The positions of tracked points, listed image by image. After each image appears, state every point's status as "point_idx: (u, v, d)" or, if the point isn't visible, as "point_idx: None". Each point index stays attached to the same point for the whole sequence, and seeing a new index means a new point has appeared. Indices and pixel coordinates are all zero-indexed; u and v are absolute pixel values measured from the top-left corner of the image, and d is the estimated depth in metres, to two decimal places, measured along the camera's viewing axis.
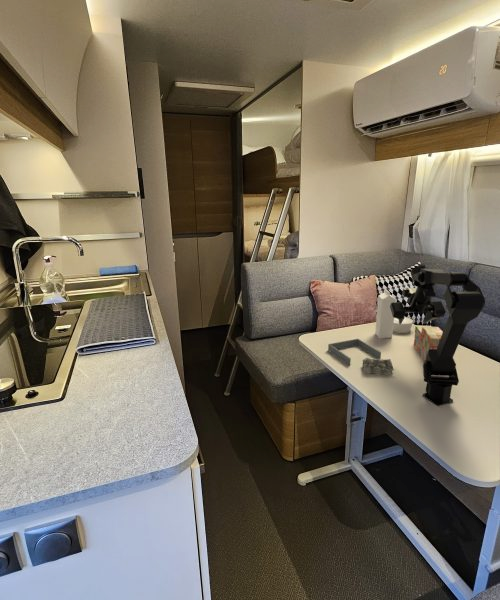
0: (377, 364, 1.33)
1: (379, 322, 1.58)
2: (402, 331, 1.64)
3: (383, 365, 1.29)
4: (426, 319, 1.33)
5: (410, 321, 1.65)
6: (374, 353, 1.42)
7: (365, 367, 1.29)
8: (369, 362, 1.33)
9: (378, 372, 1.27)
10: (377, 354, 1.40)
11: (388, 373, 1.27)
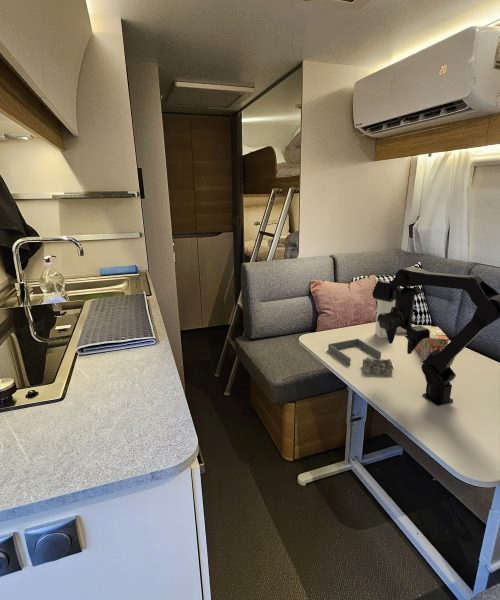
0: (377, 364, 1.33)
1: None
2: (402, 331, 1.64)
3: (383, 365, 1.29)
4: (393, 335, 1.22)
5: None
6: (374, 353, 1.42)
7: (365, 367, 1.29)
8: (369, 362, 1.33)
9: (378, 372, 1.27)
10: (377, 354, 1.40)
11: (388, 373, 1.27)
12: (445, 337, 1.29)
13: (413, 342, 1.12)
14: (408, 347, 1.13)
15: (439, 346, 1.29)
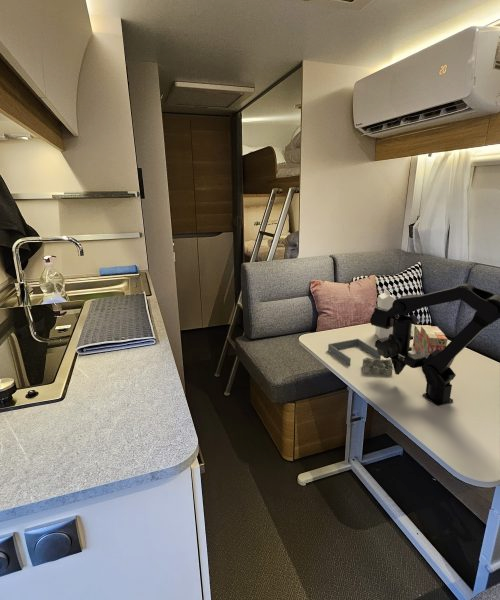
0: (378, 364, 1.33)
1: None
2: None
3: (383, 365, 1.29)
4: None
5: None
6: (374, 353, 1.42)
7: (364, 366, 1.29)
8: (369, 362, 1.33)
9: (377, 372, 1.27)
10: (377, 354, 1.40)
11: (387, 373, 1.27)
12: (444, 337, 1.29)
13: (401, 363, 1.18)
14: (397, 368, 1.19)
15: (438, 345, 1.29)
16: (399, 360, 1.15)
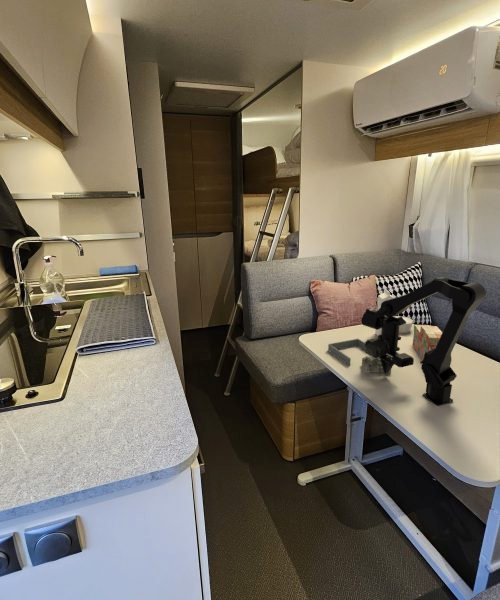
0: (377, 363, 1.34)
1: None
2: (402, 331, 1.64)
3: None
4: None
5: (410, 321, 1.65)
6: None
7: (364, 365, 1.30)
8: (368, 361, 1.34)
9: (376, 370, 1.28)
10: None
11: None
12: None
13: (389, 363, 1.23)
14: (385, 367, 1.24)
15: None
16: (387, 359, 1.21)
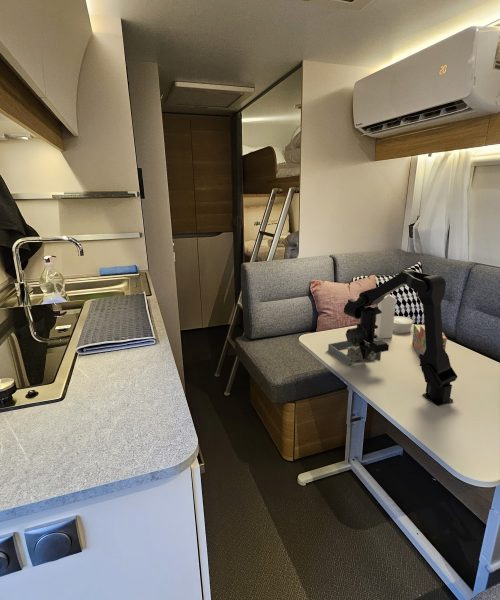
0: (360, 351, 1.44)
1: (379, 322, 1.58)
2: (402, 331, 1.64)
3: None
4: None
5: (410, 321, 1.65)
6: None
7: (351, 354, 1.39)
8: (353, 350, 1.44)
9: None
10: (377, 354, 1.40)
11: (372, 358, 1.38)
12: (443, 336, 1.30)
13: (367, 350, 1.34)
14: (364, 354, 1.35)
15: None
16: (365, 346, 1.31)
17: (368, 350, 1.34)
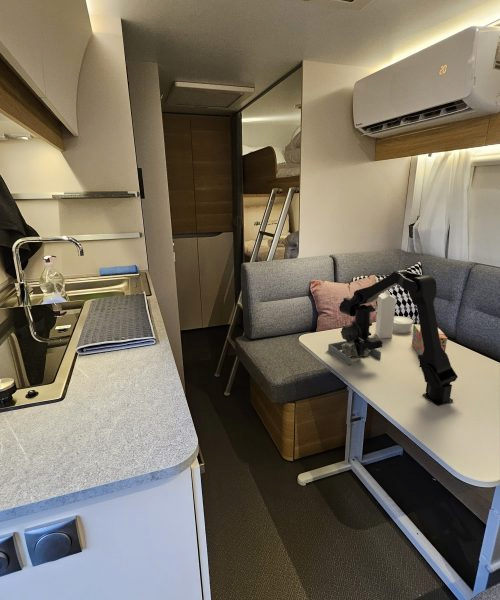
0: (354, 348, 1.48)
1: (379, 322, 1.58)
2: (402, 331, 1.64)
3: None
4: None
5: (410, 321, 1.65)
6: (374, 353, 1.42)
7: (346, 351, 1.42)
8: (347, 347, 1.47)
9: (357, 354, 1.42)
10: (377, 354, 1.40)
11: (366, 354, 1.42)
12: (443, 336, 1.30)
13: (362, 347, 1.37)
14: (359, 351, 1.38)
15: None
16: (360, 343, 1.35)
17: (363, 347, 1.37)
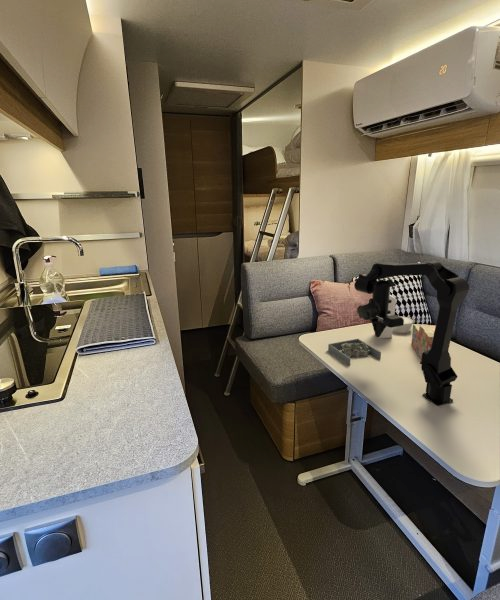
0: (354, 348, 1.48)
1: None
2: (402, 331, 1.64)
3: (360, 348, 1.44)
4: None
5: (410, 321, 1.65)
6: (374, 353, 1.42)
7: (346, 351, 1.42)
8: (347, 347, 1.47)
9: (357, 354, 1.42)
10: (377, 354, 1.40)
11: (366, 354, 1.42)
12: None
13: (381, 326, 1.26)
14: (377, 331, 1.27)
15: None
16: (378, 322, 1.24)
17: (381, 327, 1.27)
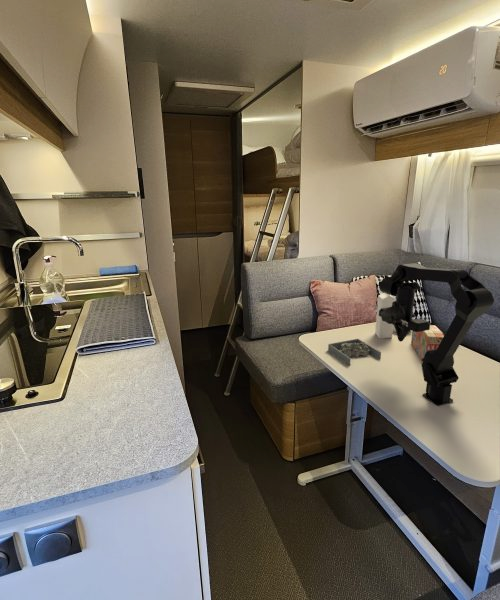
0: (353, 347, 1.48)
1: (379, 322, 1.58)
2: None
3: (360, 348, 1.44)
4: None
5: None
6: (374, 353, 1.42)
7: (346, 351, 1.42)
8: (346, 347, 1.47)
9: (357, 354, 1.42)
10: (377, 354, 1.40)
11: (365, 354, 1.42)
12: (442, 335, 1.31)
13: (404, 330, 1.21)
14: (400, 335, 1.22)
15: (436, 344, 1.30)
16: (402, 326, 1.19)
17: (405, 330, 1.22)
